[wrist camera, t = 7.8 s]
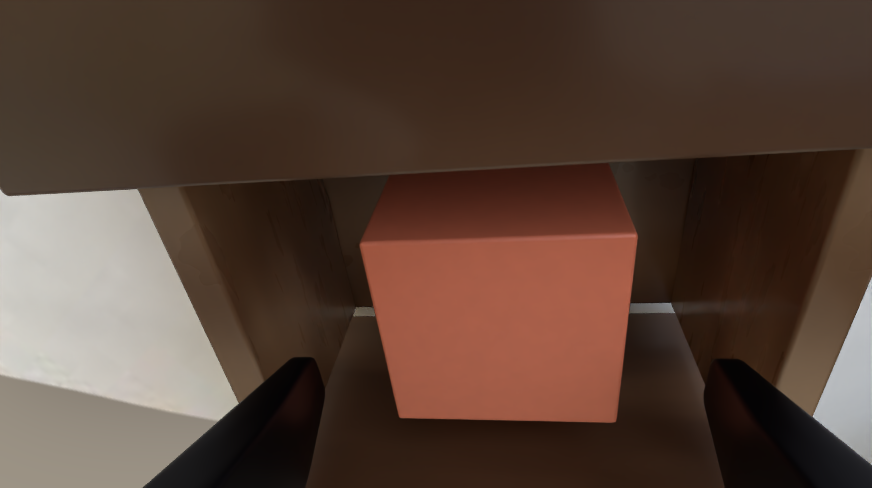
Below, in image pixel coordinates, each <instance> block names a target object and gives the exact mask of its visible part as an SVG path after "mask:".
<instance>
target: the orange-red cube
mask: <svg viewBox="0 0 872 488" xmlns="http://www.w3.org/2000/svg"><path fill="white" fill-rule="evenodd" d="M637 239H638V235H637V232H636V230H635V227H634V225H633V222H632V220H631V217H630V215H629V212H628V210H627V207H626V205H625V202H624V200H623V197H622V195H621V193H620V190H619V188H618V185H617V183H616V180H615V178H614V175H613V173H612V170H611V168H610V165H609V163H599V164H581V165H563V166H544V167H526V168H508V169H490V170H472V171H454V172H436V173H418V174H400V175H389V177H388V180H387V182H386V184H385V186H384V189H383V191H382V193H381V196H380V198H379V200H378V202H377V205H376V207H375V209H374V211H373V214H372V216H371V218H370V221H369V223H368V225H367V227H366V230H365V232H364V234H363V237H362V239H361V241H360V245H359V246H360V250H361V254H362V259H363V263H364V267H365V272H366V276H367V280H368V285H369V289H370V293H371V298H372V302H373V307H374V311H375V315H376V320H377V324H378V328H379V333H380V337H381V341H382V346H383V350H384V354H385V359H386V363H387V367H388V372H389V376H390V380H391V385H392V389H393V394H394V398H395V402H396V407H397V411H398V415H399V417H400V418H416V419H462V420H509V421H556V422H603V423H613V422H616V419H617V412H618V404H619V395H620V386H621V378H622V369H623V360H624V352H625V343H626V334H627V325H628V317H629V308H630V299H631V291H632V282H633V273H634V265H635V256H636V247H637Z"/></svg>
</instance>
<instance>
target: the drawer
mask: <svg viewBox="0 0 872 488" xmlns="http://www.w3.org/2000/svg"><path fill="white" fill-rule="evenodd" d="M609 165H610V168H611V170H612V173H613V175H614V178H615V180H616V183H617V185H618V188H619V190H620V193H621V195H622V197H623V200H624V202H625V205H626V207H627V210H628V212H629V215H630V217H631V220H632V222H633V225H634V227H635V230H636V232H637V235H638V239H637V247H636V256H635V265H634V273H633V282H632V291H631V299H630V303H671V304H672V307H673V309H674V312H675V313H631V314H629V317H628V325H627V334H626V343H625V352H624V360H623V369H622V378H621V386H620V395H619V404H618V412H617V419H616V422H613V423H603V422H556V421H509V420H462V419H416V418H400V417H399V415H398V411H397V407H396V402H395V398H394V394H393V389H392V385H391V380H390V376H389V372H388V367H387V363H386V359H385V354H384V350H383V346H382V341H381V337H380V333H379V328H378V324H377V320H376V316H353V314H354V311H355V308H356V307H373V302H372V298H371V293H370V289H369V285H368V280H367V276H366V272H365V267H364V263H363V259H362V254H361V250H360V246H359V245H360V241H361V239H362V237H363V234H364V232H365V230H366V227H367V225H368V223H369V221H370V218H371V216H372V214H373V211H374V209H375V207H376V205H377V202H378V200H379V198H380V196H381V193H382V191H383V189H384V186H385V184H386V182H387V180H388V177H389V175H381V176H363V177H345V178H327V179H309V180H291V181H273V182H255V183H237V184H219V185H200V186H182V187H164V188H146V189H138V191H139V193H140V195H141V197H142V199H143V201H144V204H145V206H146V208H147V210H148V212H149V214H150V216H151V218H152V220H153V223H154V225H155V227H156V229H157V231H158V233H159V235H160V237H161V240H162V242H163V244H164V246H165V248H166V250H167V252H168V254H169V256H170V259H171V261H172V263H173V265H174V267H175V269H176V271H177V273H178V275H179V278H180V280H181V282H182V284H183V286H184V288H185V290H186V292H187V295H188V297H189V299H190V301H191V303H192V305H193V307H194V309H195V311H196V314H197V316H198V318H199V320H200V322H201V324H202V326H203V328H204V330H205V333H206V335H207V337H208V339H209V341H210V343H211V345H212V347H213V350H214V352H215V354H216V356H217V358H218V360H219V362H220V364H221V366H222V369H223V371H224V373H225V375H226V377H227V379H228V381H229V383H230V386H231V388H232V390H233V392H234V394H235V396H236V398H237V400H238V402H239V403H240V402H241V401H242V400H244V399H245V398H246V397H247V396H248V395H249V394H250V393H252V392H253V391H254V390H255V389H256V388H257V387H258V386H260V385H261V384H262V383H263V382H264V381H265V380H266V379H268V378H269V377H270V376H271V375H272V374H273V373H274V372H276V371H277V370H278V369H279V368H280V367H281V366H282V365H284V364H285V363H286V362H287V361H288V360H289V359H291V358H293V357H313V358H314V359H315V360H316V362H317V365H318V368H319V371H320V374H321V377H322V380H323V383H324V386H325V401H324V406H323V411H322V415H321V420H320V425H319V430H318V435H317V440H316V445H315V449H314V454H313V459H312V464H311V468H310V473H309V477H308V480H307V484H306V487H305V488H725V486H724V483H723V479H722V475H721V471H720V467H719V463H718V459H717V455H716V451H715V447H714V443H713V439H712V435H711V431H710V427H709V423H708V419H707V415H706V410H705V406H704V398H703V395H704V388H705V384H706V380H707V376H708V372H709V368H710V364H711V362H712V361H713V360H714V359H717V358H725V359H740V360H742V361H744V362H745V363H746V364H748V365H749V366H750V367H751V368H753V369H754V370H755V371H756V372H757V373H759V374H760V375H761V376H762V377H764V378H765V379H766V380H767V381H769V382H770V383H771V384H772V385H774V386H775V387H776V388H777V389H778V390H780V391H781V392H782V393H783V394H785V395H786V396H787V397H788V398H790V399H791V400H792V401H793V402H794V403H796V404H797V405H798V406H799V407H801V408H802V409H803V410H804V411H806V412H807V413H808V414H809V415H810V416H813V414H814V412H815V409H816V407H817V405H818V402H819V400H820V398H821V395H822V393H823V390H824V388H825V386H826V383H827V381H828V379H829V376H830V374H831V372H832V369H833V367H834V365H835V362H836V360H837V357H838V355H839V353H840V350H841V348H842V346H843V343H844V341H845V339H846V336H847V334H848V332H849V329H850V327H851V324H852V322H853V320H854V317H855V315H856V313H857V310H858V308H859V306H860V303H861V301H862V299H863V296H864V294H865V291H866V289H867V287H868V284H869V282H870V280H871V277H872V148H870V149H852V150H834V151H816V152H798V153H780V154H762V155H744V156H726V157H707V158H689V159H671V160H653V161H635V162H617V163H609Z"/></svg>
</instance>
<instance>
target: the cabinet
mask: <svg viewBox="0 0 872 488" xmlns="http://www.w3.org/2000/svg"><path fill="white" fill-rule="evenodd" d="M870 148H872V0H0V189H1V191H2V192H3V193H4V194H5V195H7V196H19V195H37V194H56V193H74V192H92V191H110V190H128V189H146V188H164V187H182V186H200V185H219V184H237V183H255V182H273V181H291V180H309V179H327V178H345V177H363V176H381V175H400V174H418V173H436V172H454V171H472V170H490V169H508V168H526V167H544V166H563V165H581V164H599V163H617V162H635V161H653V160H671V159H689V158H707V157H726V156H744V155H762V154H780V153H798V152H816V151H834V150H852V149H870Z"/></svg>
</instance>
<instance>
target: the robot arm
mask: <svg viewBox="0 0 872 488" xmlns="http://www.w3.org/2000/svg"><path fill="white" fill-rule="evenodd" d="M703 398H704V406H705V410H706V415H707V419H708V423H709V427H710V431H711V435H712V439H713V443H714V447H715V451H716V455H717V459H718V463H719V467H720V471H721V475H722V479H723V483H724V486H725V488H872V465H871V464H870V463H868V462H867V461H866V460H865V459H863V458H862V457H861V456H860V455H859V454H857V453H856V452H855V451H854V450H852V449H851V448H850V447H849V446H847V445H846V444H845V443H844V442H842V441H841V440H840V439H839V438H838V437H836V436H835V435H834V434H833V433H831V432H830V431H829V430H828V429H826V428H825V427H824V426H823V425H822V424H820V423H819V422H818V421H817V420H815V419H814V418H813V417H812V416H810V415H809V414H808V413H807V412H806V411H804V410H803V409H802V408H801V407H799V406H798V405H797V404H796V403H794V402H793V401H792V400H791V399H790V398H788V397H787V396H786V395H785V394H783V393H782V392H781V391H780V390H778V389H777V388H776V387H775V386H774V385H772V384H771V383H770V382H769V381H767V380H766V379H765V378H764V377H762V376H761V375H760V374H759V373H757V372H756V371H755V370H754V369H753V368H751V367H750V366H749V365H748V364H746V363H745V362H744V361H742V360H740V359H725V358H717V359H714V360H713V361H712V362H711V364H710V368H709V372H708V376H707V380H706V384H705V388H704V395H703ZM324 401H325V386H324V383H323V380H322V377H321V374H320V371H319V368H318V365H317V362H316V360H315V359H314V358H313V357H293V358H291V359H289V360H288V361H287V362H286V363H285V364H284V365H282V366H281V367H280V368H279V369H278V370H277V371H276V372H274V373H273V374H272V375H271V376H270V377H269V378H268V379H266V380H265V381H264V382H263V383H262V384H261V385H260V386H258V387H257V388H256V389H255V390H254V391H253V392H252V393H250V394H249V395H248V396H247V397H246V398H245V399H244V400H242V401H241V402H240V403H239V404H238V405H237V406H236V407H234V408H233V409H232V410H231V411H230V412H229V413H228V414H226V415H225V416H224V417H223V418H222V419H221V420H219V421H218V422H217V423H216V424H215V425H214V426H213V427H212V428H211V429H209V430H208V431H207V432H206V433H205V434H203V435H202V436H201V437H200V438H199V439H198V440H197V441H196V442H194V443H193V444H192V445H191V446H190V447H189V448H187V449H186V450H185V451H184V452H183V453H182V454H181V455H180V456H178V457H177V458H176V459H175V460H174V461H173V462H171V463H170V464H169V465H168V466H167V467H166V468H165V469H163V470H162V471H161V472H160V473H159V474H158V475H157V476H155V477H154V478H153V479H152V480H151V481H150V482H149V483H147V484H146V485H145V486H144V487H143V488H305V487H306V484H307V480H308V477H309V473H310V468H311V464H312V459H313V454H314V449H315V445H316V440H317V435H318V430H319V425H320V420H321V415H322V411H323V406H324Z"/></svg>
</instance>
